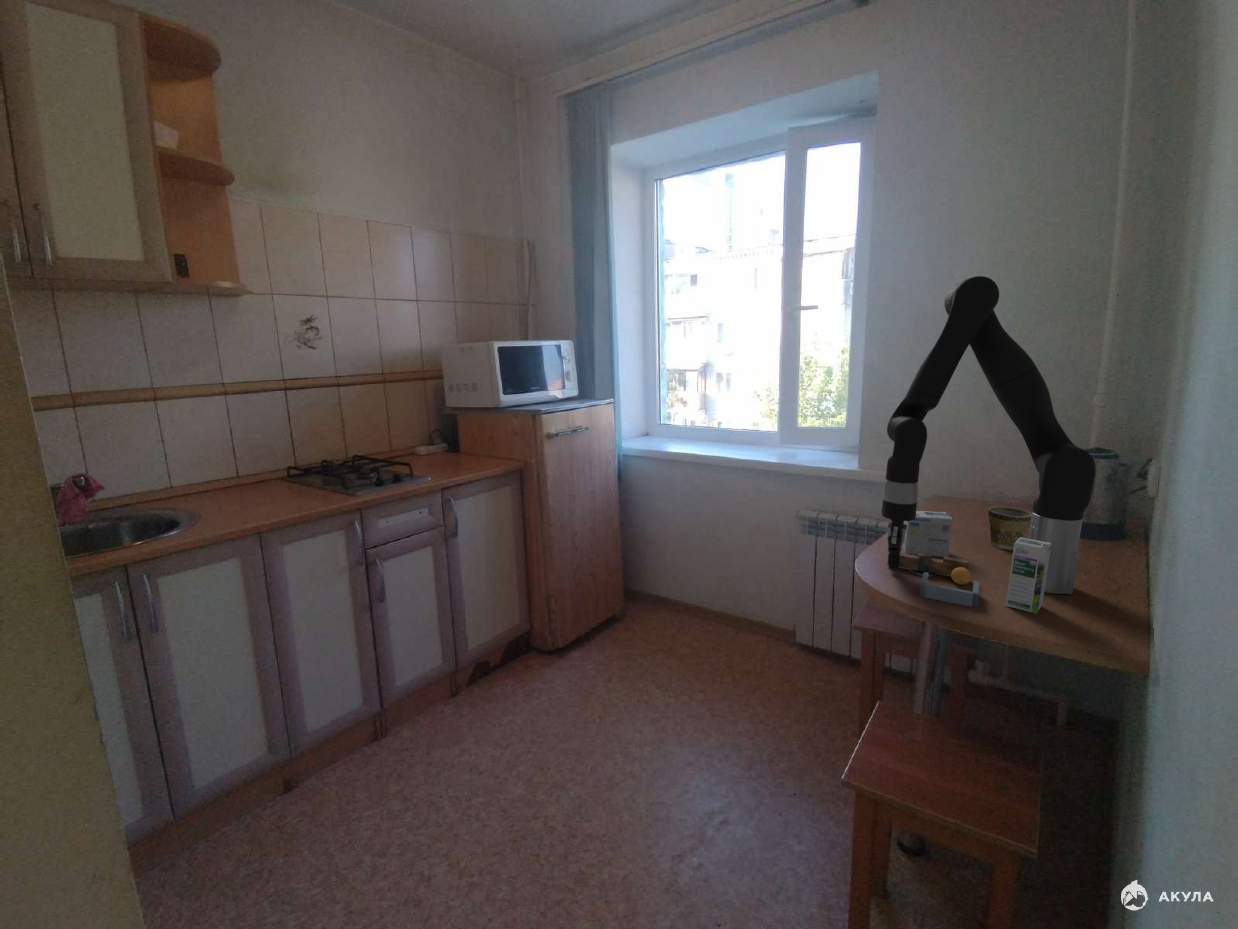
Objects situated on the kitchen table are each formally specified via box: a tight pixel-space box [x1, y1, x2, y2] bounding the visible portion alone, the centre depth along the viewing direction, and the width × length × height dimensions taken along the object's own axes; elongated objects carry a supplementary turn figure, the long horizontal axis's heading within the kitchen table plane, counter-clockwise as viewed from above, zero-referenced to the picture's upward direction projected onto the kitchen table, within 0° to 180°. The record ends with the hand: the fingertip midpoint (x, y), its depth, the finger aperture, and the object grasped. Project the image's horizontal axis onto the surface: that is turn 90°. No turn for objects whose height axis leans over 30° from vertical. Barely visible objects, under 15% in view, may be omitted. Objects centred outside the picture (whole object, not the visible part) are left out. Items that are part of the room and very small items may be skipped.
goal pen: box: [919, 572, 980, 609], centre depth 130 cm, size 11×8×3 cm
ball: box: [950, 567, 972, 586], centre depth 135 cm, size 4×4×4 cm
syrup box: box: [1005, 536, 1051, 615], centre depth 123 cm, size 6×6×14 cm
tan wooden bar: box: [886, 552, 968, 577], centre depth 142 cm, size 17×3×4 cm, turn 58°
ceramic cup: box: [987, 505, 1032, 551], centre depth 161 cm, size 13×10×10 cm
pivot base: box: [909, 569, 938, 578], centre depth 143 cm, size 6×6×1 cm
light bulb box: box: [901, 510, 953, 558], centre depth 156 cm, size 11×7×11 cm, turn 74°
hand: (893, 566), depth 143 cm, fingers closed
